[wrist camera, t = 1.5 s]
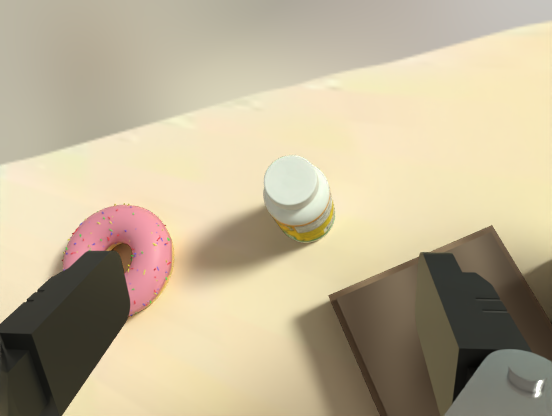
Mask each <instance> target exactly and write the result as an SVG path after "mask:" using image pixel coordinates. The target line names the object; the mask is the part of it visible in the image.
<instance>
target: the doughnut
mask: <svg viewBox="0 0 552 416" xmlns="http://www.w3.org/2000/svg"><path fill="white" fill-rule="evenodd" d="M165 226H166V225H164V224H163V223H162V221H161V220H160V219H159V218H158V217H157V216H156V215H155V214H153V213H152V212H150V211H149V210H147V209H144V208H141V207H137V206H133V205H129V204H128V205H125V203H124V205H117V206H116V204H114V206H112V207H108V208H105V209H102V210H100V211H98V212H96V213H94V214H93V215H91V216H90V217H88V218H87V219H85V221H84V222H82V223H81V224H80V226H79V227H78V228H77V229H76V231H75V232H74V233H72V234H73V235H72V237H71V239H68V240H70V241H69V243H68V245H67V248H66V251H65V253H64V252H63V253H64V254H65V255H64V260H62V261H63V271H64V270H66V269H68V268H69V267H70V266H71V265H72V264H73V263H74V262H75V261H76V260H78V259H79V258H80V257H81V256H82V255H83V254H84V253H85V252H87V251H111V250H112V249H113V248H114V247H115V246H117V245H118V244H121V243H125V244H127V245H129V246H130V247H131V249H132V253H133V255H131V256H132V257H131V260H132V262H131V265H128V266H130V267H129V268H128V270H127V271H126V272H125V273H124V274H125V279H126V283H127V288H128V292H129V297H130V312H129V316H132V314H135V313H137V312H140V311H141V310H143V309H145V308H146V307H148V306H149V305H150V304H152V303H153V302H154V301H155V300H156V299H157V298H158V297H159V296H160V294H161V293H162V292H163V290H164V289H165V287H166V285H167V283H168V281H169V279H170V276H171V273H172V270H173V264H174V248H173V243H172V240H171V237H170V234H169V232H168V231H167V229H166V227H165Z"/></svg>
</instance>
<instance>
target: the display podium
mask: <svg viewBox="0 0 552 416" xmlns="http://www.w3.org/2000/svg"><path fill="white" fill-rule="evenodd" d="M431 252H451V253H453V255H454V257H455V259H456V261H457V263H458V265H459V267H460V268H461V270H462V272H476V273H477V274H478V275H480V276H481V277H482V278H484V279H485V280H487V281H488V282H489V283H491V284H492V286H493V287H494V289H495V291H496V292H497V294H498V296H499V297H500V301H502V302H503V304H504V306H505V307H506V309H507V313H509V314H510V316H511V317H512V319H513V321H514V322H515V324H516V326H517V327H518V329H519V331H520V332H521V334H522V336H523V337H524V339H525V341H526V342H527V344H528V346H529V347H530V349H531V351H532V352H533V353H534V354H537V355H539V356H542V357H544V358H546V359H548V360H549V361H551V362H552V323H551V322H550V320H549V318H548V317H547V315H546V314H545V312H544V310H543V309H542V307H541V305H540V304H539V302H538V300H537V299H536V297H535V295H534V294H533V292H532V290H531V289H530V287H529V285H528V284H527V282H526V281H525V279H524V277H523V276H522V274H521V272H520V271H519V269H518V267H517V266H516V264H515V262H514V261H513V259H512V257H511V256H510V254H509V252H508V251H507V249H506V247H505V246H504V244H503V243H502V241H501V239H500V238H499V236H498V234H497V233H496V231H495V229H494V228H493V226H489V227H487V228H485V229H482V230H480V231H478V232H475V233H473V234H471V235H468V236H466V237H464V238H461V239H459V240H457V241H454V242H452V243H450V244H447V245H445V246H443V247H440V248H438V249H436V250H433V251H431ZM418 260H419V257H417V258H415V259H412V260H410V261H408V262H405V263H403V264H401V265H398V266H396V267H394V268H391V269H389V270H387V271H384V272H382V273H380V274H377V275H375V276H373V277H370V278H368V279H366V280H363V281H361V282H359V283H356V284H354V285H352V286H349V287H347V288H345V289H342V290H340V291H338V292H335V293H333V294H331V295H328V296H329V298H330V301H331V303H332V305H333V308H334V310H335V312H336V314H337V317H338V319H339V321H340V324H341V326H342V328H343V331H344V333H345V335H346V338H347V340H348V342H349V345H350V347H351V349H352V351H353V354H354V356H355V358H356V361H357V363H358V365H359V368H360V370H361V372H362V375H363V377H364V379H365V381H366V384H367V386H368V388H369V391H370V393H371V395H372V398H373V400H374V402H375V405H376V407H377V409H378V412H379V414H380V416H440V413H439V409H438V406H437V402H436V398H435V394H434V391H433V387H432V383H431V380H430V376H429V372H428V369H427V365H426V361H425V357H424V354H423V350H422V346H421V343H420V339H419V335H418V332H417V327H416V319H415V299H416V286H417V272H418Z"/></svg>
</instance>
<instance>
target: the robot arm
mask: <svg viewBox="0 0 552 416" xmlns="http://www.w3.org/2000/svg"><path fill="white" fill-rule="evenodd" d="M129 312H130V297H129V292H128V288H127V283H126V279H125V274H124V270H123V266H122V261H121V258H120V255H119V254H118V253H117V252H116V251H87V252H85V253H84V254H83V255H82V256H81V257H80V258H79V259H78V260H76V261H75V262H74V263H73V264H72V265H71V266H70V267H69V268H68V269H66V270H64V271H62V272H60V273H59V274H57V275H55V276H53V277H51V278H50V279H49V280H48V281H47V282H46V283H44V284H43V285H42V286H41V287H40V288H39V289H38V290H37V292H35V293H34V294H32V295H31V296H30V297H29V298H28V299H27V302H24V303H23V304H21V305H20V306H19V307H18V308H17V309H16V310H15V311H14V312H13V313H12V314H11V315H9V316H8V317H7V318H6V319H5V320H4V321H3V322H2V323H1V324H0V416H62V415H63V413H64V412H65V410H66V409H67V407H68V406H69V405H70V403H71V402H72V400H73V399H74V397H75V396H76V394H77V393H78V391H79V390H80V388H81V387H82V386H83V384H84V383H85V381H86V380H87V378H88V377H89V375H90V374H91V372H92V371H93V369H94V368H95V367H96V365H97V364H98V362H99V361H100V359H101V358H102V356H103V355H104V353H105V352H106V350H107V349H108V348H109V346H110V345H111V343H112V342H113V340H114V339H115V337H116V336H117V334H118V333H119V331H120V330H121V329H122V327H123V326H124V324H125V323H126V321H127V319H128V316H129ZM415 319H416V327H417V332H418V335H419V339H420V343H421V346H422V350H423V354H424V357H425V361H426V365H427V369H428V372H429V376H430V380H431V383H432V387H433V391H434V394H435V398H436V402H437V406H438V409H439V413H440V416H552V362H551V361H549V360H548V359H546V358H544V357H542V356H539V355H537V354H534V353H533V352H532V351H531V349H530V347H529V346H528V344H527V342H526V341H525V339H524V337H523V336H522V334H521V332H520V331H519V329H518V327H517V326H516V324H515V322H514V321H513V319H512V317H511V316H510V314H509V313H507V309H506V307H505V306H504V304H503V302H502V301H500V297H499V296H498V294H497V292H496V291H495V289H494V287H493V286H492V284H491V283H489V282H488V281H487V280H485V279H484V278H482V277H481V276H480V275H478V274H477V273H476V272H462V270H461V268H460V267H459V265H458V263H457V261H456V259H455V257H454V255H453V253H451V252H421V253H420V255H419V260H418V272H417V286H416V299H415Z"/></svg>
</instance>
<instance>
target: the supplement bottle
mask: <svg viewBox="0 0 552 416" xmlns="http://www.w3.org/2000/svg"><path fill="white" fill-rule="evenodd" d="M263 196H264V202H265V205H266V208H267V210H268V211H269V213H270V214H271V216H272V217H273V218H274V220H275V221H276V222H277V224H278V225H279V227H280V228H281V229H282V231H283V232H284V233H285V234H286V235H287V236H288V237H290V238H292V239H293V240H295V241H298V242H302V243H310V242H314V241H317V240H319V239H321V238H323V237H324V236H325V235H326V234H327V233H328V232H329V231H330V229H331V228H332V226H333V223H334V220H335V208H334V204H333V200H332V196H331V192H330V187H329V184H328V181H327V179H326V177H325V175H324V174H323V173H322V172H321V171H320V170H319V169H318V168H317V167H315V166H314V165H312V164H311V163H310V162H309V161H308V160H306V159H305V158H303V157H300V156H296V155H289V156H284V157H281V158H279V159H277V160H276V161H274V162H273V163H272V164H271V165H270V166H269V168H268V169H267V171H266V174H265V177H264V193H263Z"/></svg>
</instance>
